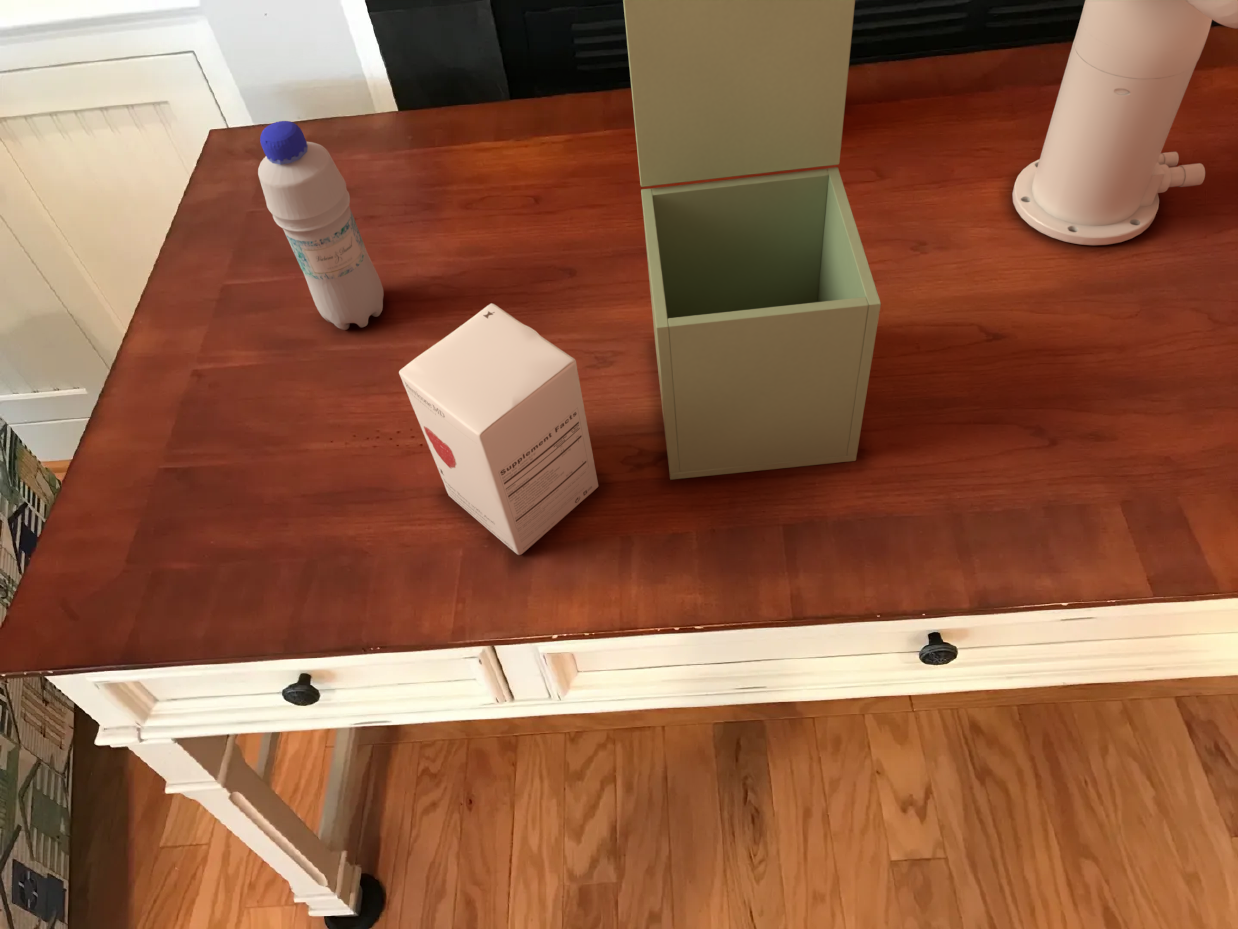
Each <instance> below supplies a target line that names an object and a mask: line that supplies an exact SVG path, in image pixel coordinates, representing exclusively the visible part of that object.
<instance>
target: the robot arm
mask: <svg viewBox="0 0 1238 929" xmlns="http://www.w3.org/2000/svg"><path fill="white" fill-rule="evenodd" d="M1213 21H1214V22H1215V23H1217V24H1219V25H1221V26H1224V27H1228V28H1231V29H1236V30H1238V0H1084V4H1083V8H1082V11H1081V15H1080V19H1079V23H1078V26H1077V29H1076V32H1075V36H1074V38H1073V42H1072V45H1071V48H1070V52H1069V55H1068V59H1067V63H1066V66H1065V70H1064V73H1063V77H1062V80H1061V83H1060V87H1059V90H1058V94H1057V97H1056V101H1055V105H1054V108H1053V112H1052V115H1051V118H1050V122H1049V124H1048V129H1047V132H1046V136H1045V138H1044V143H1043V146H1042V150H1041V153H1040V156H1039V159H1037V160H1035V161H1033V162H1030V163H1029V164H1028V165H1027V166H1026V167H1024V168H1023V169H1022V170H1021V172H1020V173H1019V174H1018V175H1017V177H1016V180H1015V182H1014V186H1013V190H1012V193H1011V194H1012V203H1013V206H1014V208H1015V210H1016V212H1017V213H1018V215H1019V217H1020V218H1021V219H1022V220H1023V221H1025V223H1027V224H1028V225H1029V226H1030V227H1031V228H1033V229H1034V230H1036V231H1038V232H1039V233H1041V234H1043V235H1046V236H1047V237H1050V238H1052V239H1055V240H1059V241H1062V242H1065V243H1069V244H1070V243H1071V244H1075V245H1080V246H1081V245H1083V246H1108V245H1113V244H1119V243H1122V242H1125V241H1128V240H1131V239H1133V238H1135V237H1137V236H1139V235H1141V234H1143V232H1145V231H1147V229H1148V228H1149V227H1150V226H1151V224H1153V222H1154V221H1155V218H1156V214H1158V213H1157V212H1158V210H1159V204H1160V198H1159V194H1161V193H1162V194H1163V193H1165V192H1167V191H1168V189H1169V188H1176V187H1177V188H1184V187H1185V188H1187V187H1195V186H1201V185H1202V184H1203V183H1204V181H1205V179H1206V178H1205V177H1206V168H1205V166H1204V164H1202V163H1200V162H1198V163H1190V164H1181V165H1179V160H1180V159H1179V158H1180V157H1179V153H1178V152H1177V151H1169V152H1162V151H1163V148H1164V146H1165V144H1166V142H1167V139H1168V136H1169V134H1170V131H1171V128H1172V126H1173V124H1174V121H1175V119H1176V116H1177V113H1178V111H1179V109H1180V106H1181V104H1182V101H1183V98H1184V96H1185V93H1186V92H1187V88H1188V86H1189V82H1190V81H1191V78H1192V75H1193V74H1194V71H1195V68H1196V66H1197V63H1198V61H1199V59H1200V57H1201V55H1202V52H1203V50H1204V47H1205V44H1206V42H1207V39H1208V37H1209V33H1210V29H1211V27H1212V22H1213Z"/></svg>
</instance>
